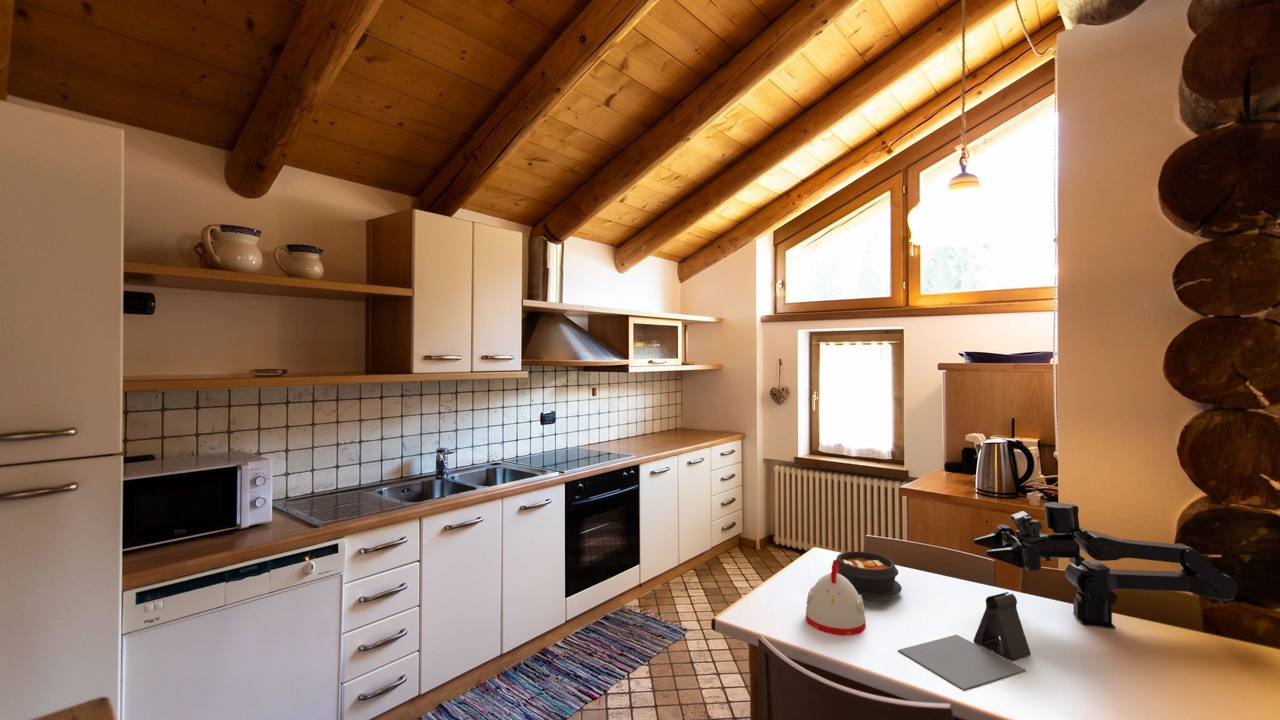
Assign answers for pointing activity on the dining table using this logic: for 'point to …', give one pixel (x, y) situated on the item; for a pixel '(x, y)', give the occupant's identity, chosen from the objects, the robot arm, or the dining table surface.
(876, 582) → the casserole
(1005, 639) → the phone stand
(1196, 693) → the dining table surface
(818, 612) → the kitchen timer
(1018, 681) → the dining table surface
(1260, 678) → the dining table surface
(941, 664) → the mat
